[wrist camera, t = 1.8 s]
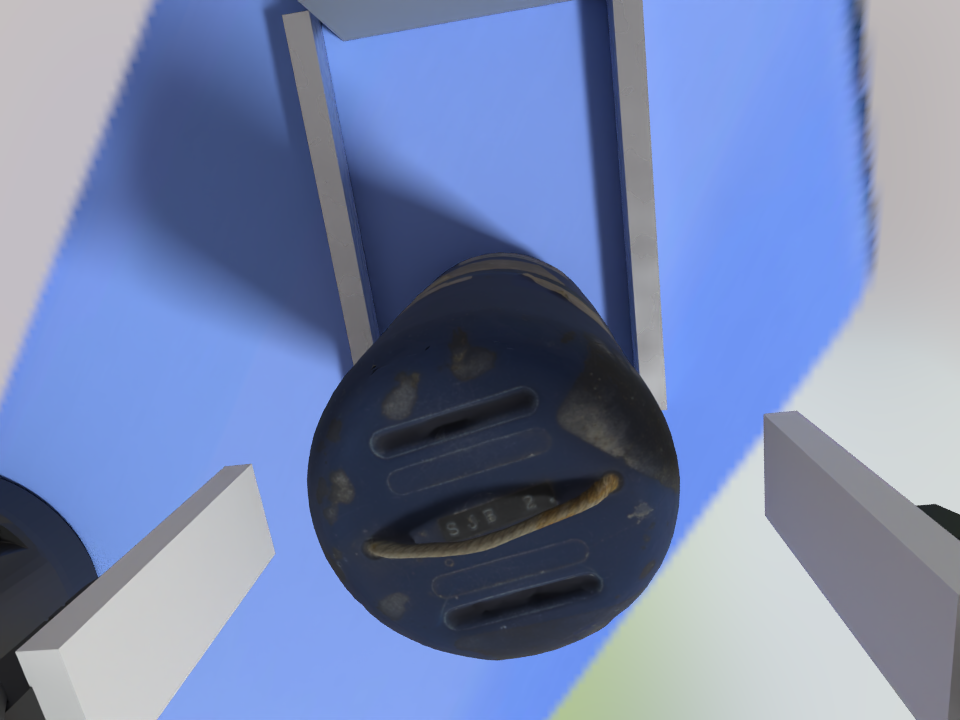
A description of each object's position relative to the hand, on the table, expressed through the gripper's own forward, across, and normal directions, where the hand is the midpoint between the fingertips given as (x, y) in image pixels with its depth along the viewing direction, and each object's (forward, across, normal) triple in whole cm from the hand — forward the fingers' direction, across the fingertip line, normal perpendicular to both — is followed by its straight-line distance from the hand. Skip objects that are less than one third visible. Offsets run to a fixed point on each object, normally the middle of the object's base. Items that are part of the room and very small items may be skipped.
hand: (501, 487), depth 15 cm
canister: (+16, -1, 0) cm, 16 cm away
